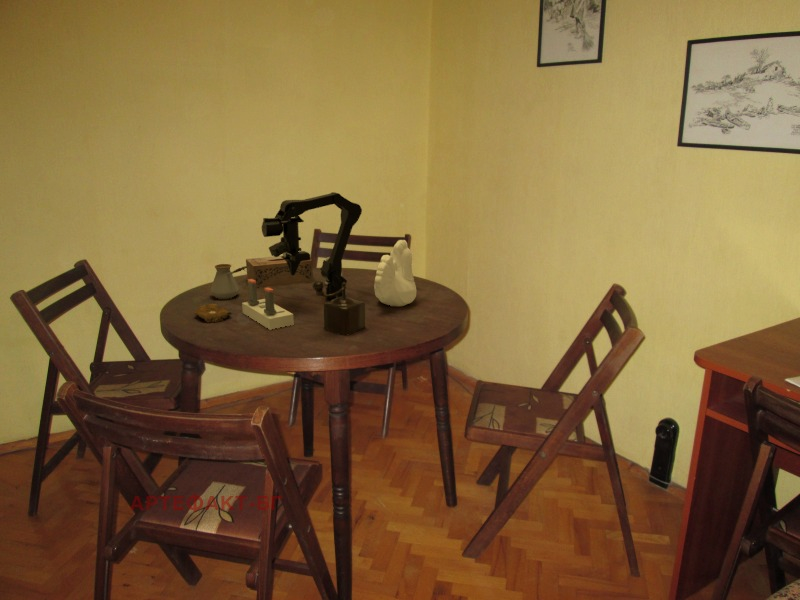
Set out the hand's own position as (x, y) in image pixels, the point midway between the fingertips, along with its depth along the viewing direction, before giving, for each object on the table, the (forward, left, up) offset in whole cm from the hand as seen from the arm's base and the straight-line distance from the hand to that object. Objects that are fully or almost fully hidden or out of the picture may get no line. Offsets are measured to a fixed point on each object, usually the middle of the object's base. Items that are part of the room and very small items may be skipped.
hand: (292, 275), depth 231 cm
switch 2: (-1, +24, -8) cm, 25 cm away
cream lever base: (+3, +18, -12) cm, 22 cm away
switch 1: (+9, +15, -8) cm, 19 cm away
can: (-5, -32, -12) cm, 35 cm away
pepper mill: (-26, +23, -12) cm, 37 cm away
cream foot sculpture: (-36, -9, -12) cm, 39 cm away
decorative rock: (+24, +20, -12) cm, 34 cm away
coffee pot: (+27, -2, -12) cm, 30 cm away
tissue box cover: (+20, -32, -12) cm, 40 cm away
